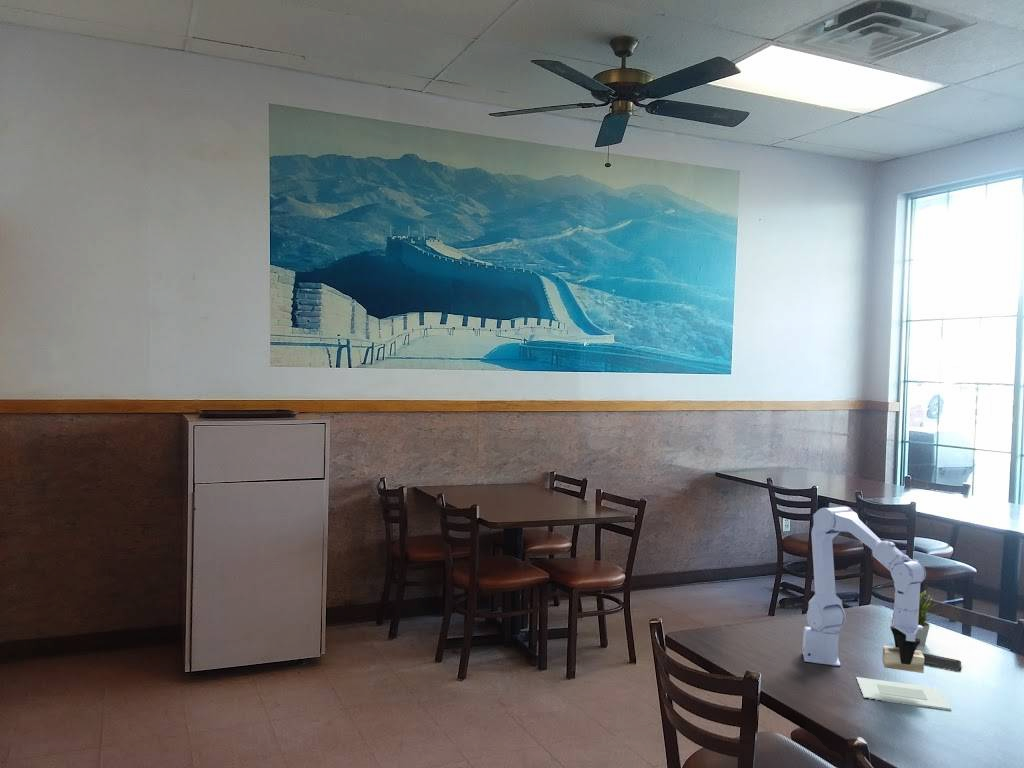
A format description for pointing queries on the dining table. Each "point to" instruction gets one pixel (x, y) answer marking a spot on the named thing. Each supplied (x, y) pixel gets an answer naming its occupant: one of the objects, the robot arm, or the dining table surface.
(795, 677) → the dining table surface
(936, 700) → the mat
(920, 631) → the house plant
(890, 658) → the card box
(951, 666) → the phone
